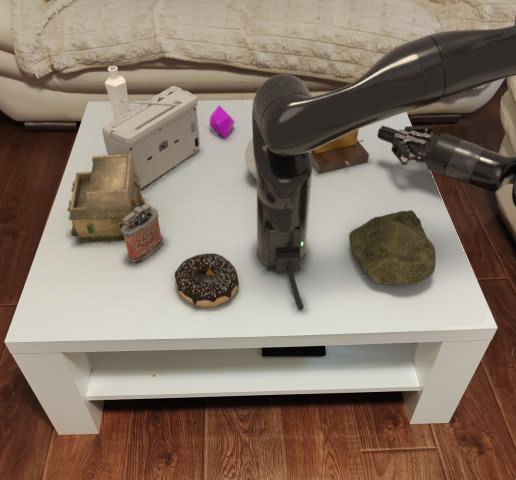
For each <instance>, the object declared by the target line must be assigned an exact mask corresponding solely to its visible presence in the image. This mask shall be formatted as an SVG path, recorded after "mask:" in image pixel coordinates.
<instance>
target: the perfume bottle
mask: <svg viewBox="0 0 516 480" xmlns="http://www.w3.org/2000/svg"><path fill="white" fill-rule="evenodd" d="M118 69H119V68H118V66H117V65H109V67H108V68H107V71H108V74H109V76H108V77H107V79H106V81H105V82H104V86H105V88H106V92H107V95H108V99H109V102H110V105H111V108H112V112H113V115H114V118H115V119H117V118H119V117H120V116H122V115H124V114H126V113H127V112H129V111H131V110H130V103H127V102H123V103H121V102H120V101H121V100H123V101H129V95H128V87H127V81H126V79H125V78H124V76H123V75H119V71H118Z"/></svg>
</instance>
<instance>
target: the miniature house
mask: <svg viewBox="0 0 516 480" xmlns="http://www.w3.org/2000/svg"><path fill="white" fill-rule="evenodd" d="M91 161H92V167H91V170H90V171H79V172H78V171H77V172H76V173H75V178H74V181H72V188H71V189H70V192H71V193H72V195H71V199H70V200H69V201H68V207H67V212H69V217H68V220H69V221H71V223H72V225H71V231H70V232H71V233H70V234H71V236H74V237H75V236H78V241H79V243H80V244H82V243H99V242H116V241H117V242H119V241H125V239H124V235H123V234H122V231H121V228H122V227H123V226H124V223H123V219H124V218H125V217H126V216H128V215H129V214H131V213H133V211H134V209H135V208H136V207H137V206H138V207H141V206H143V205H144V204H146V203H147V202H146V201H145V199H144V197H143V195H142V192H141V189H142V188H141V185H140V184H139V183H138V179H139V175H136V174H135V170H134V166H133V161H132V156H131V154H125V155H108V154H106V155H93V156H92V157H91ZM140 188H141V189H140Z"/></svg>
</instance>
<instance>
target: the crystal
mask: <svg viewBox="0 0 516 480" xmlns="http://www.w3.org/2000/svg"><path fill="white" fill-rule="evenodd" d="M234 124H235V119H234V118H233V117H231V115H230V114H229V113H228V112H227V111H226V110H225V109H224V108H223V107H222V106H221V105H218V106H217V107H216V109H215V110H214V111H213V112H212V113H211V115H210V118H209V126H210V127H211V128H212V129H213V130H214V131H215V132H217V133H218V134H219V135H220V136H222V137H223V138H224V139H226V138H227V137H228V135H229V133H230V131H231V130H232V127H234Z"/></svg>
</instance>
